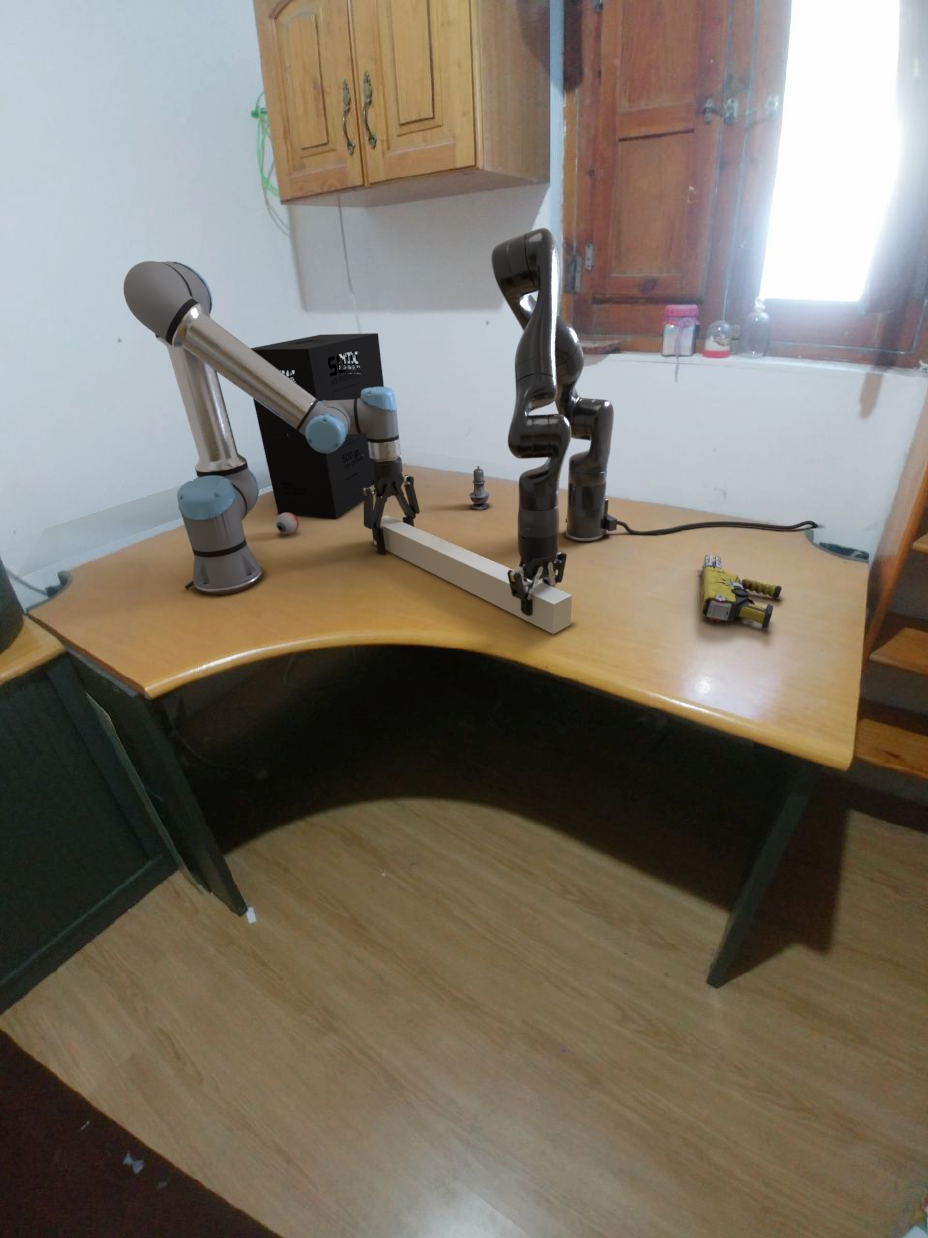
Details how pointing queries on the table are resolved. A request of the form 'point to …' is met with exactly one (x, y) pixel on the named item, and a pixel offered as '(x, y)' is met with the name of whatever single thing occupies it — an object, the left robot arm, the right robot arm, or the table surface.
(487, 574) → the bar
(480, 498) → the salt shaker
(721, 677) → the table surface
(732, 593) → the toy gun
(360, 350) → the cardboard box
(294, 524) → the eyeball
